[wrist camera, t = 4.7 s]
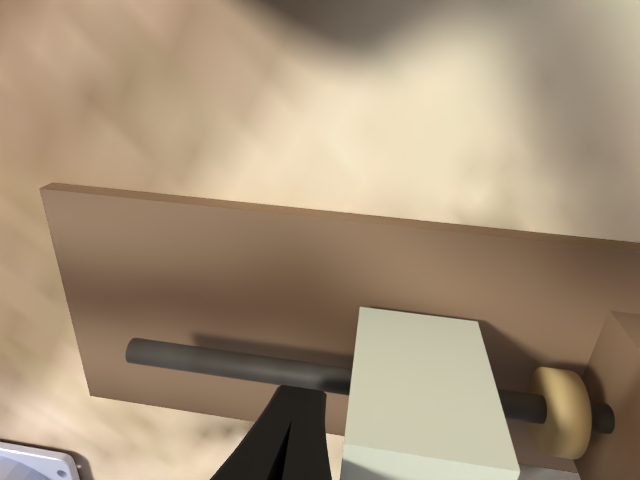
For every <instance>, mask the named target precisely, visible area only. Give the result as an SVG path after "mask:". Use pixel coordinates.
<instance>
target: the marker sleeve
mask: <svg viewBox="0 0 640 480" xmlns="http://www.w3.org/2000/svg"><path fill="white" fill-rule="evenodd" d="M519 474H520V469H519V465H518V462H517V458H516V455H515V451H514V448H513V444H512V441H511V437H510V434H509V430H508V426H507V423H506V419H505V416H504V412H503V409H502V405H501V402H500V398H499V395H498V391H497V388H496V384H495V381H494V377H493V374H492V370H491V367H490V363H489V360H488V356H487V353H486V349H485V346H484V342H483V339H482V335H481V331H480V328H479V324H478V322H477V321H470V320H462V319H454V318H446V317H438V316H430V315H422V314H414V313H406V312H398V311H390V310H382V309H374V308H366V307H360V309H359V318H358V326H357V335H356V343H355V352H354V360H353V369H352V377H351V386H350V394H349V403H348V411H347V420H346V428H345V437H344V446H343V455H342V465H341V474H340V480H518V477H519Z"/></svg>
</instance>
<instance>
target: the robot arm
mask: <svg viewBox="0 0 640 480" xmlns="http://www.w3.org/2000/svg"><path fill="white" fill-rule="evenodd" d="M326 398H327V394H326V393H325V392H324V391H321V390H315V389H308V388H301V387H294V386H287V385H280V386H279V387H277V389H276V391H275V393H274V395H273V396H272V398H271V400H270V401H269V403H268V404H267V406H266V408H265V409H264V411H263V412H262V414H261V415H260V417H259V418H258V419H257V421H256V422H255V424H254V425H253V427H252V428H251V429H250V431H249V432H248V433H247V435H246V436H245V437H244V439H243V440H242V441H241V443H240V444H239V445H238V447H237V448H236V449H235V450H234V452H233V453H232V454H231V455H230V456H229V458H228V459H227V460H226V461H225V462H224V464H223V465H222V466H221V467H220V468H219V470H218V471H217V472H216V473H215V474H214V475H213V477H212V478H211V479H210V480H332V477H331V471H330V465H329V458H328V451H327V443H326V432H325V412H326ZM0 480H80V479H79V475H78V472H77V468H76V465H75V462H74V459H73V458H72V457H71V456H70V455H68V454H65V453H61V452H55V451H50V450H44V449H38V448H33V447H27V446H21V445H15V444H10V443H4V442H0Z"/></svg>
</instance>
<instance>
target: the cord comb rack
mask: <svg viewBox="0 0 640 480" xmlns="http://www.w3.org/2000/svg"><path fill="white" fill-rule="evenodd" d="M40 193H41V197H42V201H43V205H44V209H45V213H46V217H47V221H48V225H49V229H50V234H51V238H52V242H53V246H54V250H55V254H56V258H57V262H58V266H59V270H60V274H61V278H62V282H63V287H64V291H65V295H66V299H67V303H68V307H69V311H70V315H71V319H72V323H73V327H74V331H75V335H76V339H77V344H78V348H79V352H80V356H81V360H82V364H83V368H84V372H85V376H86V380H87V384H88V388H89V392H90V396H95V397H101V398H108V399H114V400H120V401H127V402H133V403H139V404H145V405H152V406H158V407H164V408H171V409H177V410H183V411H190V412H196V413H202V414H209V415H215V416H221V417H228V418H234V419H240V420H246V421H253V422H256V421H257V419H258V418H259V417H260V415H261V414H262V412H263V411H264V409H265V408H266V406H267V404H268V403H269V401H270V400H271V398H272V396H273V395H274V393H275V391H276V389H277V387H279V386H280V385H287V386H294V387H301V388H308V389H315V390H321V391H324V392H325V393H326V394H327V398H326V412H325V432H326V433H329V434H335V435H341V436H345V428H346V420H347V411H348V403H349V394H350V386H351V377H352V369H353V360H354V352H355V343H356V335H357V326H358V318H359V309H360V307H366V308H374V309H382V310H390V311H398V312H406V313H414V314H422V315H430V316H438V317H446V318H454V319H462V320H470V321H477V322H478V324H479V328H480V331H481V335H482V339H483V342H484V346H485V349H486V353H487V356H488V360H489V363H490V367H491V370H492V374H493V377H494V381H495V384H496V388H497V391H498V395H499V398H500V402H501V405H502V409H503V412H504V416H505V419H506V423H507V426H508V430H509V434H510V437H511V441H512V444H513V448H514V451H515V455H516V458H517V462H518V464H524V465H531V466H537V467H543V468H549V469H556V470H562V471H568V472H575V473H579V475H580V478H581V480H640V243H634V242H624V241H615V240H605V239H595V238H585V237H576V236H566V235H556V234H546V233H537V232H527V231H517V230H508V229H498V228H488V227H478V226H469V225H459V224H449V223H439V222H430V221H420V220H410V219H400V218H391V217H381V216H371V215H361V214H352V213H342V212H332V211H323V210H313V209H303V208H293V207H284V206H274V205H264V204H254V203H245V202H235V201H225V200H215V199H206V198H196V197H186V196H177V195H167V194H157V193H147V192H138V191H128V190H118V189H108V188H99V187H89V186H79V185H69V184H60V183H51V184H49V185H46V186H44V187H42V188H40Z"/></svg>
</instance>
